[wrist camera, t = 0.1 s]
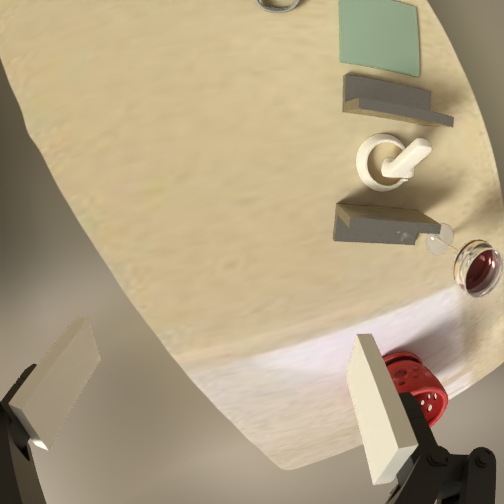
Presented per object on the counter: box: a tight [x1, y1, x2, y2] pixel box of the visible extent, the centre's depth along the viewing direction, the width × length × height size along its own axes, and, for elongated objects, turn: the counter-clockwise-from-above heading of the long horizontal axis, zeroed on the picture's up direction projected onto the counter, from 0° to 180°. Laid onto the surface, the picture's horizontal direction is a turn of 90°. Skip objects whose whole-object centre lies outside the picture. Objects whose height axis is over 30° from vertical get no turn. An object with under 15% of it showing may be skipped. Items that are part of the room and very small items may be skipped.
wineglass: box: [427, 224, 504, 299], centre depth 35 cm, size 7×7×12 cm
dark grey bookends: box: [333, 75, 454, 245], centre depth 34 cm, size 21×12×7 cm, turn 179°
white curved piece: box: [356, 134, 432, 192], centre depth 34 cm, size 8×12×7 cm
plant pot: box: [383, 352, 448, 427], centre depth 44 cm, size 13×13×12 cm
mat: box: [339, 0, 420, 77], centre depth 30 cm, size 11×11×1 cm
